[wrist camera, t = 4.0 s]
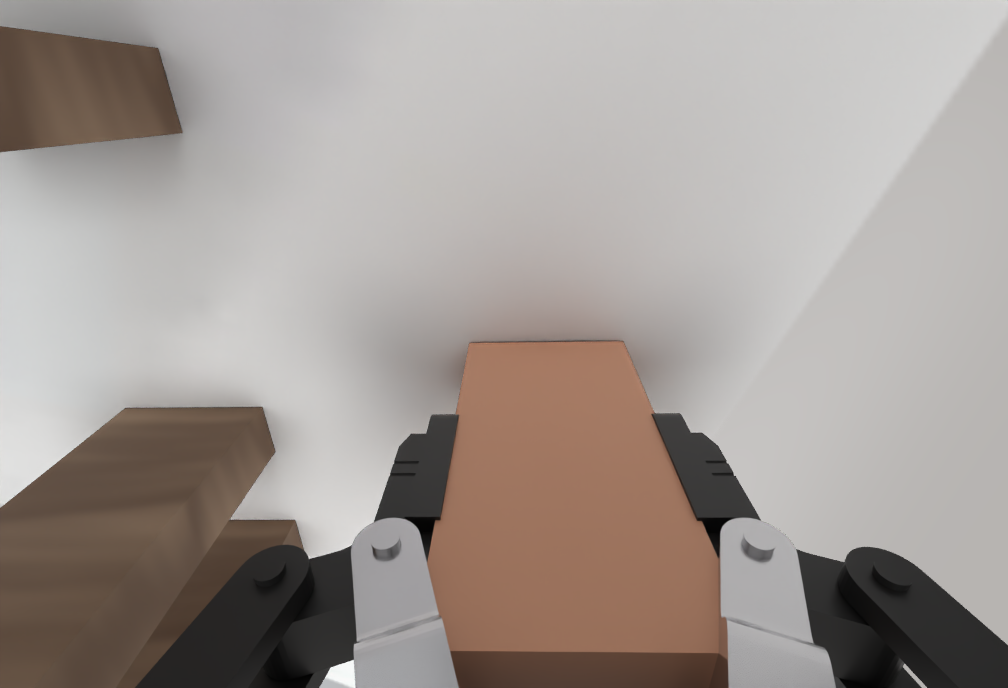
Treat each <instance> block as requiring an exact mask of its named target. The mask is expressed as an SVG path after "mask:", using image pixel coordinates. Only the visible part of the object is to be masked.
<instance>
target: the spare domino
mask: <svg viewBox="0 0 1008 688" xmlns="http://www.w3.org/2000/svg"><path fill="white" fill-rule="evenodd" d="M456 414H459V419H458V424H457V430H456V435H455V441H454V447H453V452H452V458H451V463H450V469H449V475H448V480H447V486H446V491H445V497H444V502H443V508H442V514H441V519H440V520H435V525H434V530H433V535H432V540H431V545H430V551H429V556H428V561H427V566H428V570H429V574H430V578H431V583H432V587H433V591H434V596H435V600H436V604H437V609H438V612H439V615H441V617H442V621H443V624H444V628H445V632H446V636H447V641H448V645H449V649H450V653H451V658H452V662H453V666H454V670H455V674H456V679H457V683H458V687H459V688H709V685H710V682H711V678H712V675H713V671H714V668H715V664H716V661H717V657H718V653H719V596H718V557H717V555H716V552H715V550H714V548H713V545H712V543H711V541H710V539H709V536H708V534H707V532H706V529H705V527H704V525H703V523H702V521H697V520H696V518H695V515H694V513H693V511H692V508H691V506H690V504H689V501H688V499H687V497H686V494H685V492H684V490H683V487H682V485H681V483H680V480H679V478H678V476H677V473H676V471H675V469H674V466H673V464H672V461H671V459H670V457H669V454H668V452H667V450H666V447H665V445H664V443H663V440H662V438H661V436H660V433H659V431H658V429H657V426H656V424H655V422H654V419H653V417H652V415H651V414H655V413H654V411H653V408H652V406H651V404H650V402H649V399H648V397H647V395H646V392H645V390H644V388H643V386H642V383H641V381H640V379H639V376H638V374H637V372H636V370H635V367H634V365H633V363H632V360H631V358H630V356H629V354H628V351H627V349H626V347H625V344H624V342H623V341H594V342H506V343H469V347H468V352H467V357H466V363H465V368H464V373H463V378H462V384H461V389H460V394H459V399H458V404H457V410H456Z"/></svg>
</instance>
